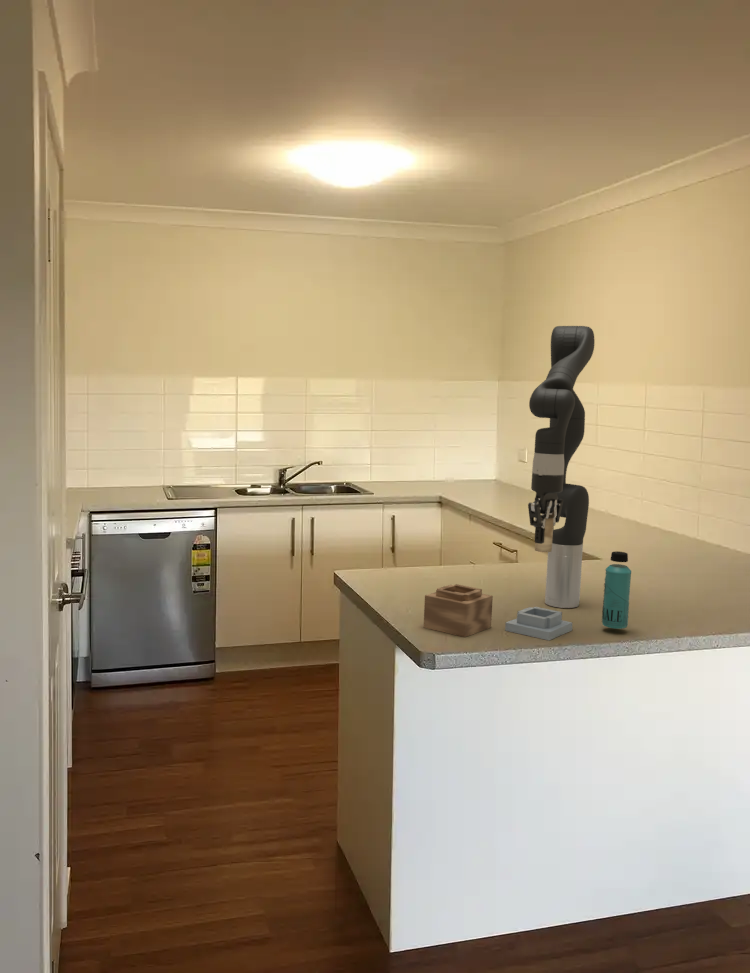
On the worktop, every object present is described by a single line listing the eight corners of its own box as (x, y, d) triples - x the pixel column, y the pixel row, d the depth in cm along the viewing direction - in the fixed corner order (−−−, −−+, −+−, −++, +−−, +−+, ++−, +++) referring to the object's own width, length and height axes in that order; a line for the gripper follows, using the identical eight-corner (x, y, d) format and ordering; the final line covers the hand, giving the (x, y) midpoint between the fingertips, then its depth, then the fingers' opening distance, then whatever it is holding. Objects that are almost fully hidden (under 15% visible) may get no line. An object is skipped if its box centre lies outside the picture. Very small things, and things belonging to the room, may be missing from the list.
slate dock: (529, 621, 244) (530, 603, 243) (572, 630, 236) (573, 612, 236) (505, 630, 234) (506, 612, 234) (549, 640, 227) (550, 622, 226)
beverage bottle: (623, 627, 240) (628, 549, 238) (631, 635, 234) (637, 555, 231) (597, 627, 240) (602, 549, 238) (604, 634, 234) (610, 554, 231)
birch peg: (539, 548, 236) (541, 516, 235) (554, 550, 233) (556, 518, 232) (531, 550, 232) (533, 518, 231) (546, 552, 230) (548, 520, 229)
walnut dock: (450, 618, 244) (452, 581, 243) (491, 627, 237) (493, 589, 235) (423, 627, 235) (425, 589, 233) (464, 637, 227) (466, 598, 226)
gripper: (548, 468, 238) (543, 536, 240) (519, 472, 227) (515, 543, 229) (575, 471, 234) (571, 540, 236) (547, 475, 222) (543, 548, 225)
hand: (543, 541), depth 232 cm, fingers closed on birch peg, 4 cm apart
